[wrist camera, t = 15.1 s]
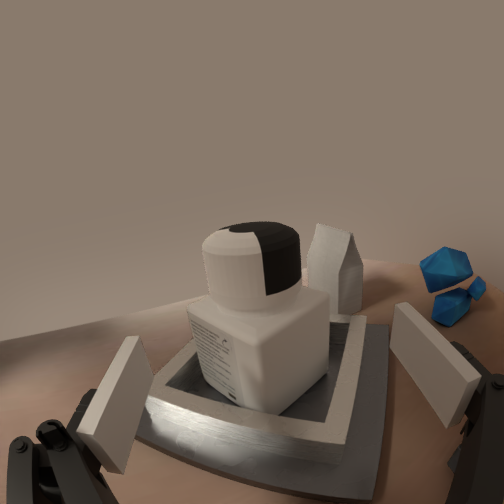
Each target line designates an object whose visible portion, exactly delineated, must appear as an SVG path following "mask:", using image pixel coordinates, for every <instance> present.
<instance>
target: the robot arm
mask: <svg viewBox="0 0 504 504" xmlns="http://www.w3.org/2000/svg"><path fill="white" fill-rule="evenodd" d="M389 347H390V349H391V350H392V351H393V353H394V354H395V355H396V357H397V358H398V360H399V361H400V362H401V364H402V365H403V367H404V368H405V369H406V371H407V372H408V374H409V375H410V376H411V378H412V379H413V381H414V382H415V383H416V385H417V386H418V388H419V389H420V391H421V392H422V393H423V395H424V396H425V398H426V399H427V401H428V402H429V404H430V405H431V407H432V408H433V410H434V411H435V413H436V414H437V415H438V417H439V418H440V420H441V422H442V423H443V425H444V426H445V428H446V429H448V428H450V427H452V426H454V425H456V424H458V423H460V421H461V419H462V417H463V415H464V413H465V414H466V416H467V417H468V419H467V421H466V423H465V425H464V427H463V428H462V430H461V432H460V434H461V435H462V433H463V432H464V436H463V441H462V446H461V450H460V455H459V459H458V463H457V467H456V471H455V474H454V478H453V481H452V484H451V488H450V491H449V494H448V497H447V500H446V503H445V504H503V500H504V375H501V374H493V375H492V374H491V373H490V372H489V371H488V370H487V369H486V368H485V367H484V366H483V365H482V364H481V363H480V362H479V361H478V360H477V359H476V358H474V356H473V355H472V354H471V353H469V351H468V350H467V349H466V348H465V347H464V346H463V345H461V344H459V343H457V342H455V341H453V342H450V343H449V342H448V341H447V340H446V339H445V338H444V337H443V336H442V335H441V334H440V333H439V332H438V331H437V330H436V329H435V328H434V327H433V326H432V325H431V324H430V323H429V322H428V321H427V320H426V319H425V318H424V317H423V316H422V315H421V314H420V313H419V312H418V311H417V310H415V309H414V308H413V307H412V306H411V305H410V304H409V303H408V302H403V303H399V304H395V309H394V317H393V325H392V332H391V339H390V345H389ZM153 379H154V375H153V372H152V369H151V367H150V364H149V361H148V359H147V356H146V353H145V350H144V347H143V344H142V341H141V338H140V336H126V338H125V340H124V342H123V343H122V345H121V347H120V349H119V350H118V352H117V354H116V356H115V358H114V359H113V361H112V363H111V365H110V367H109V368H108V370H107V372H106V374H105V376H104V378H103V380H102V381H101V383H100V385H99V387H98V389H90V390H89V391H88V392H87V393H86V394H85V395H84V396H83V397H82V399H81V401H80V403H79V405H78V407H77V408H76V412H74V414H73V416H72V418H71V420H70V422H69V424H68V425H67V427H66V429H65V427H64V426H63V425H62V423H61V422H60V421H58V420H53V419H51V420H47V421H45V422H43V423H41V425H40V426H39V427H38V428H37V430H36V437H37V438H38V440H39V441H40V442H41V443H42V444H34V443H33V442H32V441H31V439H30V438H28V437H26V436H20V437H17V438H16V439H14V440H13V441H12V443H11V444H10V447H9V456H8V469H7V504H119V503H118V501H117V500H116V498H115V496H114V495H113V493H112V491H111V490H110V488H109V486H108V484H107V482H106V481H105V479H104V477H103V475H102V474H101V473H100V468H101V465H102V466H103V467H104V468H105V469H106V470H107V472H111V473H117V474H123V475H124V472H125V468H126V465H127V461H128V458H129V454H130V451H131V448H132V444H133V441H134V438H135V434H136V431H137V428H138V425H139V422H140V419H141V415H142V412H143V409H144V406H145V403H146V400H147V397H148V394H149V391H150V388H151V385H152V382H153ZM464 430H465V431H464Z"/></svg>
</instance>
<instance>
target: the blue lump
mask: <svg viewBox="0 0 504 504" xmlns="http://www.w3.org/2000/svg"><path fill="white" fill-rule="evenodd" d="M420 267H421V270H422V273H423V276H424V279H425V282H426V286H427V289H428V292H430V293H433V292H436V291H439V290H442V289H445V288H448V287H451V286H454V285H456V284H458V283H460V282H462V281H464V280H466V279H467V278H469V277H471V276H472V275H473V271H472V268H471V265H470V262H469V260H468V257H467V254H466V253H465V252H462V251H458V250H455V249H451V248H448V247H443V248H441V249H440V250H438V251H437V252H435V253H433V254H432V255H430V256H429V257H427V258H425V259H424V260H422V261H421V262H420ZM485 290H486V283H485V282H484V281H483V280H482V279H481V278H480V277H479V276H478V277H477V278H476V279H475V280H474V281H473V283H472V284H471V285H470V287H469V288H468V289H467V290H464V289H462V288H456V289H453V290H451V291H448V292H445V293H442V294H439V295H437V296H436V297H435V302H434V307H433V312H432V319H433V320H435V321H437V322H439V323H441V324H443V325H445V326H447V327H450V326H452V325H453V324H454V323H455V322H456V321H457V320H458V319H460V318H461V317H462V316H463V315H464V314H465V313H466V312H467V311H468V310H469V308H470V303H471V299H472V297H473V298H474V299H475V300H476V301H477V300H478V299H479V298H480V297H481V296H482V294H483V293H484V292H485Z"/></svg>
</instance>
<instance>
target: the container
mask: <svg viewBox="0 0 504 504" xmlns="http://www.w3.org/2000/svg"><path fill="white" fill-rule="evenodd" d="M202 252H203V258H204V264H205V270H206V276H207V282H208V288H209V293H210V295H209V296H207V297H205V298H202V299H200V300H198V301H196V302H193V303H191V304H189V305H188V306H187V313H188V317H189V322H190V326H191V330H192V334H193V338H194V342H195V346H196V350H197V354H198V358H199V362H200V366H201V369H202V373H203V377H204V380H205V381H206V382H207V383H208V384H210V385H211V386H212V387H214V388H215V389H216V390H218V391H219V392H220V393H222V394H223V395H225V396H226V397H227V398H229V399H230V400H231V401H233V402H234V403H236V404H237V405H239V406H240V407H241V408H245V409H249V410H254V411H258V412H263V413H268V414H272V415H279V414H280V413H282V412H283V411H284V410H285V409H286V408H288V407H289V406H290V405H291V404H292V403H293V402H295V401H296V400H297V399H298V398H299V397H300V396H301V395H303V394H304V393H305V392H306V391H307V390H308V389H309V388H310V387H311V386H313V385H314V384H315V383H316V382H317V381H318V380H319V379H320V378H321V377H322V376H323V375H324V374H325V373H326V372H327V371H328V359H329V329H330V296H329V294H328V293H327V292H324V291H320V290H316V289H312V288H309V287H305V286H302V273H301V255H300V239H299V234H298V233H297V232H296V231H295V230H294V229H293V228H291V227H289V226H286V225H283V224H280V223H277V222H249V223H241V224H236V225H231V226H228V227H224V228H222V229H219V230H218V231H216V232H214V233H213V234H211V235H210V236H209V237H207V238H206V239H205V241H204V243H203V244H202Z"/></svg>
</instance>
